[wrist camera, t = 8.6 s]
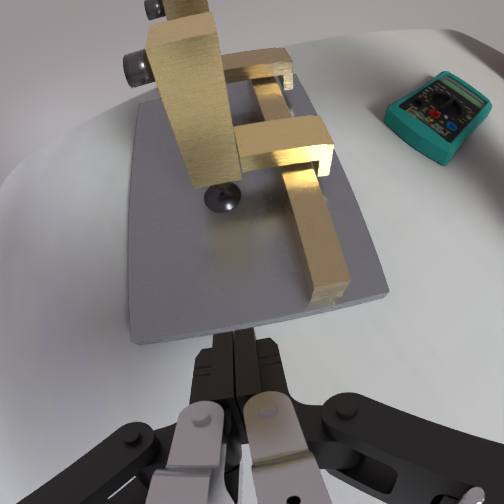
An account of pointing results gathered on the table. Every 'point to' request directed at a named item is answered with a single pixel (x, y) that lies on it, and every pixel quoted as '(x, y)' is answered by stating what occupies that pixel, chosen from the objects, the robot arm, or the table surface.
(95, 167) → the table surface
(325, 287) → the tan block assembly
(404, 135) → the digital multimeter
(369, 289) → the flange plate
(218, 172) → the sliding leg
